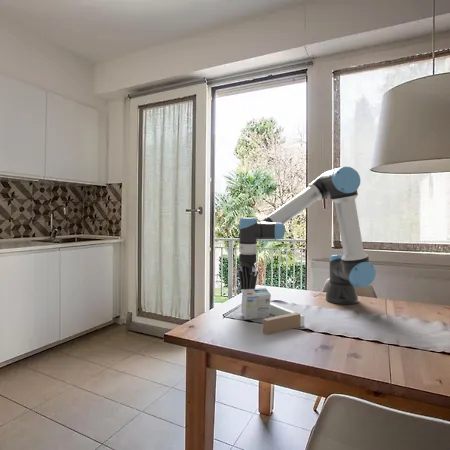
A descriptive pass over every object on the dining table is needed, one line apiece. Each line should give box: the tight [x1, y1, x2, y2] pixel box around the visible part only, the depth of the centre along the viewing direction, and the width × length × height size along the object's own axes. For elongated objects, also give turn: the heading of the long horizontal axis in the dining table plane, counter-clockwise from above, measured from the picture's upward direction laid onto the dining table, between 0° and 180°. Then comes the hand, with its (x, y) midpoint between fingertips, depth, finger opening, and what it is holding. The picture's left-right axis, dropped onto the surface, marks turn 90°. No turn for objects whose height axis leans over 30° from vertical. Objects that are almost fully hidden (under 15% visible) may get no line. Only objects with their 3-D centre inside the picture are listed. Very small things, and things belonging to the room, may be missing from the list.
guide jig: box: [262, 302, 305, 335], centre depth 133 cm, size 18×24×5 cm
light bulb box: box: [240, 287, 272, 320], centre depth 137 cm, size 11×7×11 cm, turn 104°
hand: (247, 307), depth 143 cm, fingers closed
